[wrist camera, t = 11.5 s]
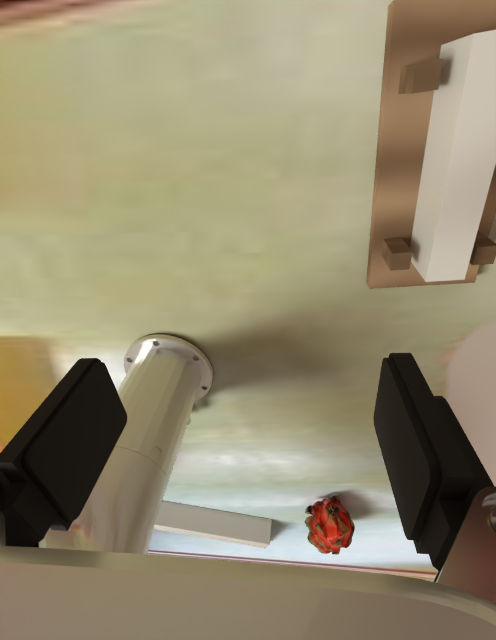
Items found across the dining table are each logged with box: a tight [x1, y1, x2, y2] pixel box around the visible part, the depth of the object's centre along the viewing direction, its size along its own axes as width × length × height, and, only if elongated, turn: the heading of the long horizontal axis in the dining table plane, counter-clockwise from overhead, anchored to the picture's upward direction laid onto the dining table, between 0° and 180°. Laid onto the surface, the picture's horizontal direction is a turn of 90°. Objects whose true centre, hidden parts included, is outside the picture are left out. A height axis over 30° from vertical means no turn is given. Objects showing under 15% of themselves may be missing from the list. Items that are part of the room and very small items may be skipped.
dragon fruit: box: [305, 496, 355, 554], centre depth 59 cm, size 8×8×12 cm
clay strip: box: [410, 30, 496, 282], centre depth 25 cm, size 16×3×5 cm, turn 8°
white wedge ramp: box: [154, 501, 272, 548], centre depth 71 cm, size 34×5×10 cm
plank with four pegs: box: [367, 0, 496, 289], centre depth 26 cm, size 22×10×5 cm, turn 8°
